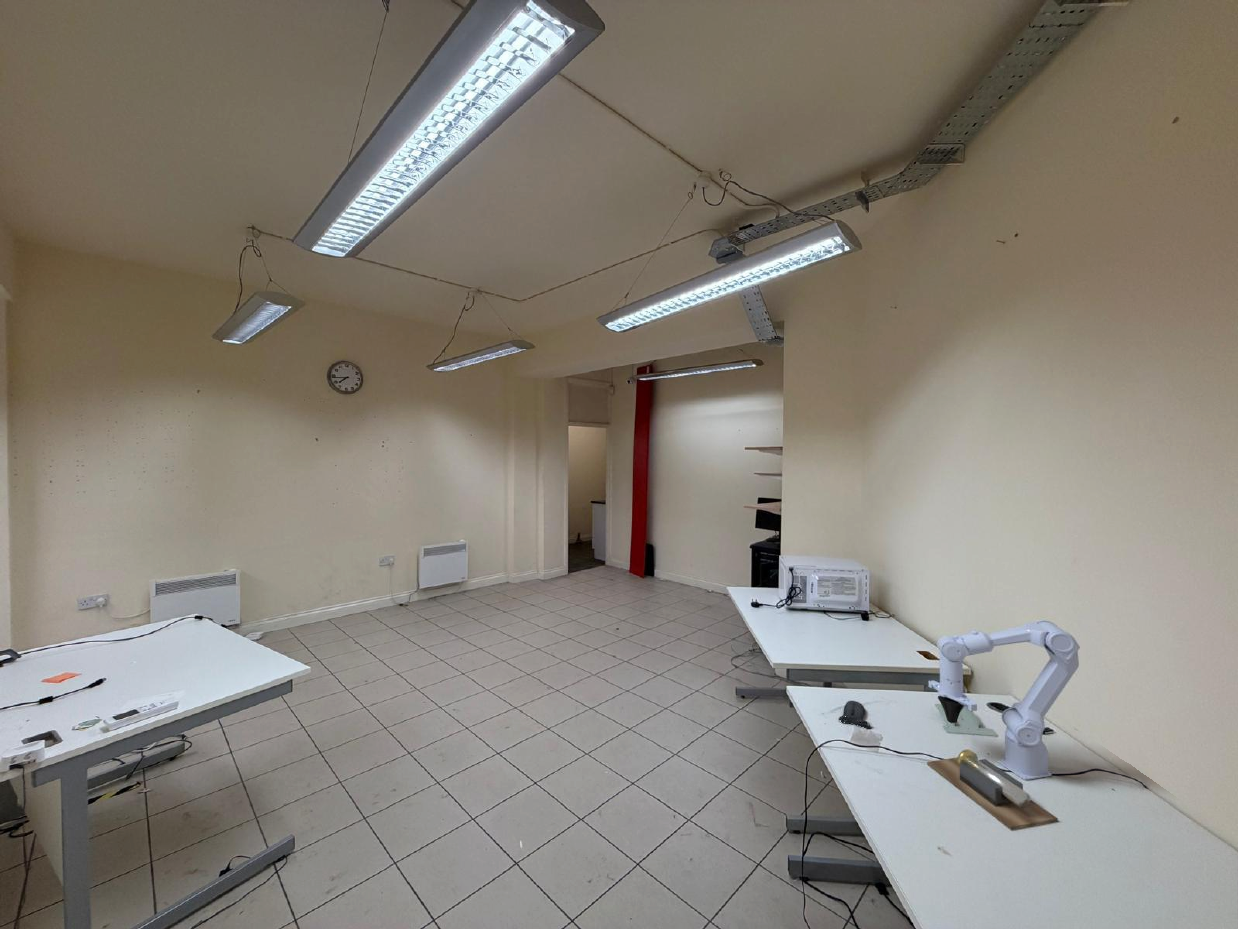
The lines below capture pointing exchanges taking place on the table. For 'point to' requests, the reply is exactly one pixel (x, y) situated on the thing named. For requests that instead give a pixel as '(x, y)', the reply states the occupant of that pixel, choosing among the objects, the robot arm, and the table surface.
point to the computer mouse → (855, 714)
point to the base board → (1005, 814)
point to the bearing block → (986, 783)
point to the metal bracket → (966, 724)
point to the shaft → (996, 779)
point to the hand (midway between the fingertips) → (952, 721)
